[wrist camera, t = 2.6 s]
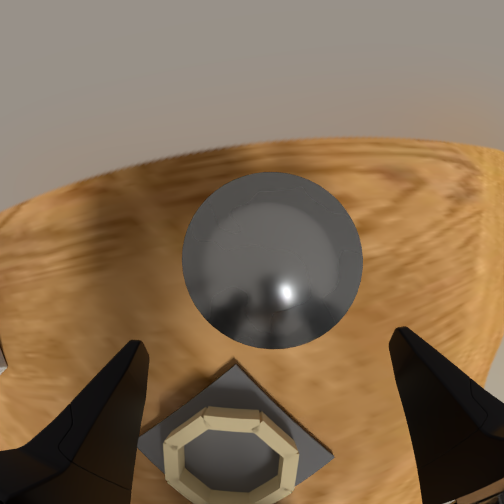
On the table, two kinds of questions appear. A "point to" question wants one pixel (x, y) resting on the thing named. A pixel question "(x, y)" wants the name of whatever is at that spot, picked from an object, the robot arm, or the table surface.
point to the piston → (272, 260)
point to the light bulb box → (2, 362)
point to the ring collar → (233, 446)
